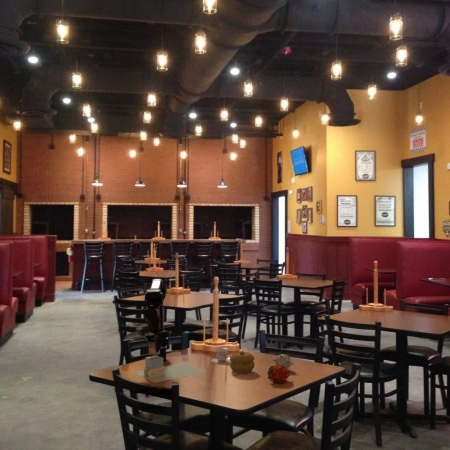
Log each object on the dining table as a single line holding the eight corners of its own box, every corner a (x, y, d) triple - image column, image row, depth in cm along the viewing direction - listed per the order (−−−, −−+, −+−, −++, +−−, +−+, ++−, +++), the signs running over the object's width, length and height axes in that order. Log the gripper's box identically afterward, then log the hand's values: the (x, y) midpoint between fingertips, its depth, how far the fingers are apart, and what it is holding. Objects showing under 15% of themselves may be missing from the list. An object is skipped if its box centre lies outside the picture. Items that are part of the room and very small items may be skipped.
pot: (250, 368, 252) (250, 347, 252) (258, 374, 241) (257, 352, 241) (227, 370, 249) (226, 349, 250) (233, 376, 238) (233, 354, 238)
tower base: (144, 374, 241) (143, 366, 242) (157, 372, 246) (157, 363, 246) (151, 378, 236) (151, 369, 236) (164, 375, 240) (164, 366, 240)
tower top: (145, 366, 241) (145, 357, 242) (156, 364, 245) (156, 355, 245) (151, 368, 237) (151, 359, 237) (163, 366, 240) (163, 357, 240)
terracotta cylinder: (146, 353, 242) (146, 342, 242) (156, 351, 245) (156, 341, 245) (152, 355, 238) (152, 344, 238) (161, 353, 241) (161, 342, 241)
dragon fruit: (265, 388, 224) (286, 387, 231) (277, 379, 219) (298, 379, 226) (260, 369, 229) (280, 369, 236) (271, 360, 224) (292, 360, 231)
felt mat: (131, 373, 246) (131, 372, 246) (182, 364, 263) (182, 363, 263) (154, 383, 228) (154, 382, 228) (207, 372, 245) (207, 371, 245)
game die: (283, 379, 245) (277, 365, 240) (274, 369, 252) (268, 355, 247) (298, 368, 247) (293, 354, 242) (289, 359, 255) (283, 344, 250)
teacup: (219, 358, 276) (219, 346, 276) (238, 360, 269) (238, 348, 269) (205, 362, 266) (205, 350, 266) (224, 365, 259) (224, 353, 259)
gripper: (128, 317, 244) (129, 350, 244) (148, 321, 229) (148, 357, 229) (149, 314, 251) (150, 347, 250) (170, 319, 236) (170, 353, 236)
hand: (154, 351), depth 241 cm, fingers closed on terracotta cylinder, 5 cm apart
